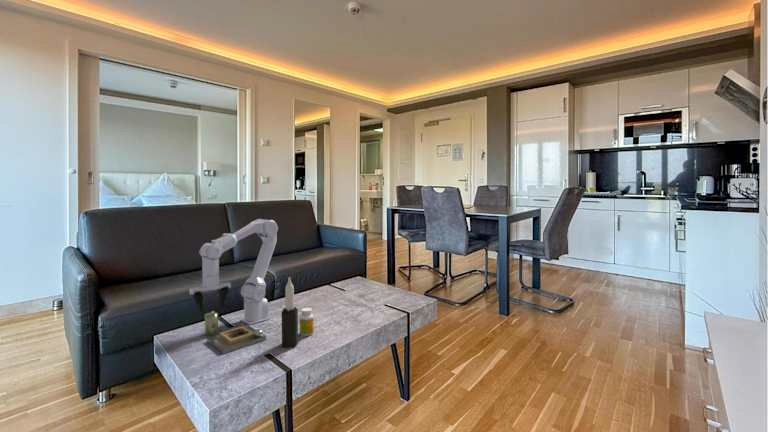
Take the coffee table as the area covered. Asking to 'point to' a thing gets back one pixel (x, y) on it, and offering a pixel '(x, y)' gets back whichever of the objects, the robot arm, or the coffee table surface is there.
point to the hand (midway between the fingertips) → (211, 309)
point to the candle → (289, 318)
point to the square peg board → (236, 339)
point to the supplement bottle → (306, 322)
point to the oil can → (211, 324)
